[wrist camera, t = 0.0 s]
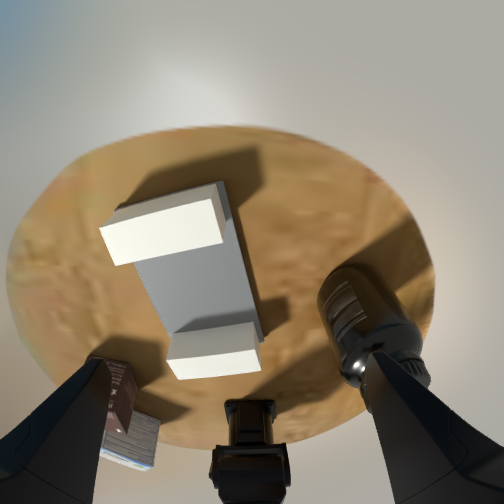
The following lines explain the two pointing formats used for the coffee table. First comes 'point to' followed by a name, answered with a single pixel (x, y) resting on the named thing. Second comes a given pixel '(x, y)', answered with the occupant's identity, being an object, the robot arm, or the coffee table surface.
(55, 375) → the coffee table surface
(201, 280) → the rail plate
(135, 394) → the box
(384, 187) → the coffee table surface
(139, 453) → the medicine box
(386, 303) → the supplement bottle
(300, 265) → the coffee table surface
